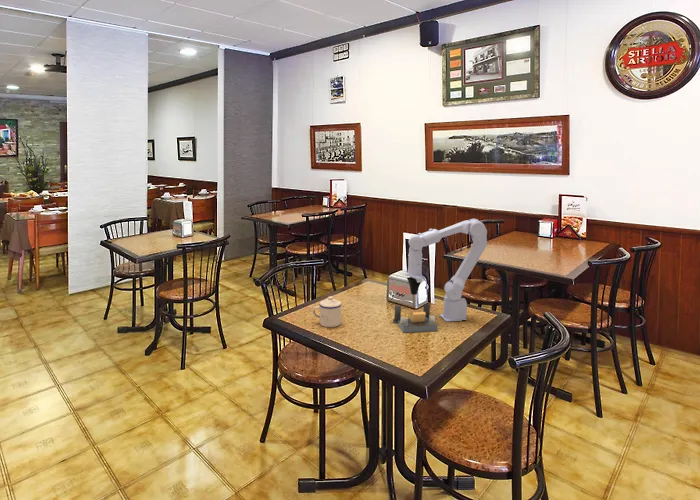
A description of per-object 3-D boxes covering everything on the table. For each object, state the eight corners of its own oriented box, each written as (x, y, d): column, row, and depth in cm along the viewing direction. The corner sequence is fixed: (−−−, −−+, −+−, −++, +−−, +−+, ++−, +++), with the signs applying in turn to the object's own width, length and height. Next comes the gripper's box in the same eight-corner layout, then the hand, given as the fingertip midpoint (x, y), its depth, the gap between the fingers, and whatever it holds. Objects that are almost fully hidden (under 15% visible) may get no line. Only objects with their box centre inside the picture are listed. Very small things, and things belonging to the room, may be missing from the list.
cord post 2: (429, 318, 193) (429, 303, 191) (432, 321, 189) (432, 306, 187) (420, 318, 192) (420, 303, 191) (423, 322, 188) (423, 306, 187)
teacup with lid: (342, 320, 190) (342, 294, 187) (339, 328, 181) (339, 301, 179) (315, 318, 191) (314, 293, 189) (310, 326, 183) (310, 299, 180)
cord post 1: (400, 319, 191) (401, 304, 189) (403, 323, 187) (403, 307, 185) (391, 320, 190) (392, 304, 189) (393, 323, 186) (394, 307, 185)
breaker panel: (430, 323, 187) (431, 312, 186) (437, 331, 179) (437, 319, 178) (398, 325, 185) (398, 314, 184) (403, 332, 177) (403, 321, 176)
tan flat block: (423, 320, 182) (425, 311, 179) (424, 322, 181) (426, 314, 178) (410, 320, 181) (412, 312, 178) (411, 323, 180) (413, 314, 177)
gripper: (401, 259, 196) (400, 289, 198) (410, 268, 182) (409, 299, 184) (416, 259, 197) (415, 288, 200) (427, 267, 183) (426, 299, 186)
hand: (413, 294), depth 192 cm, fingers closed
